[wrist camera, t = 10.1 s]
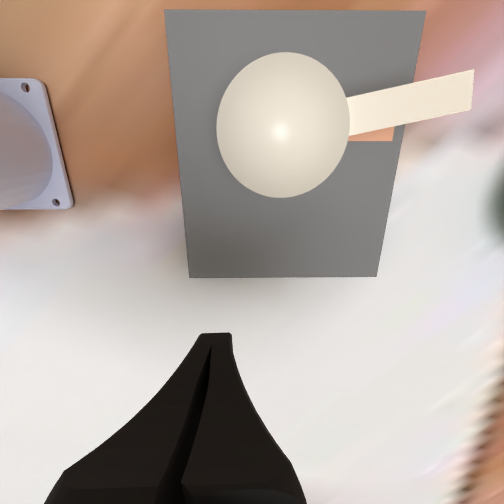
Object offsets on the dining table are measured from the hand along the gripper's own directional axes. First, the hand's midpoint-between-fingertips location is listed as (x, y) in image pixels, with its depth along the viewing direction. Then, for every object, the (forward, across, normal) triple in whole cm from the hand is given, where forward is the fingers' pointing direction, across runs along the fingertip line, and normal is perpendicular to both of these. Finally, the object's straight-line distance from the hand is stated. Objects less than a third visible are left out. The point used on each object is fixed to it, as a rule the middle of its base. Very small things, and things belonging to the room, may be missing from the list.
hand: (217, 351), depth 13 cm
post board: (+10, -4, -7) cm, 13 cm away
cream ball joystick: (+8, -6, -9) cm, 13 cm away
